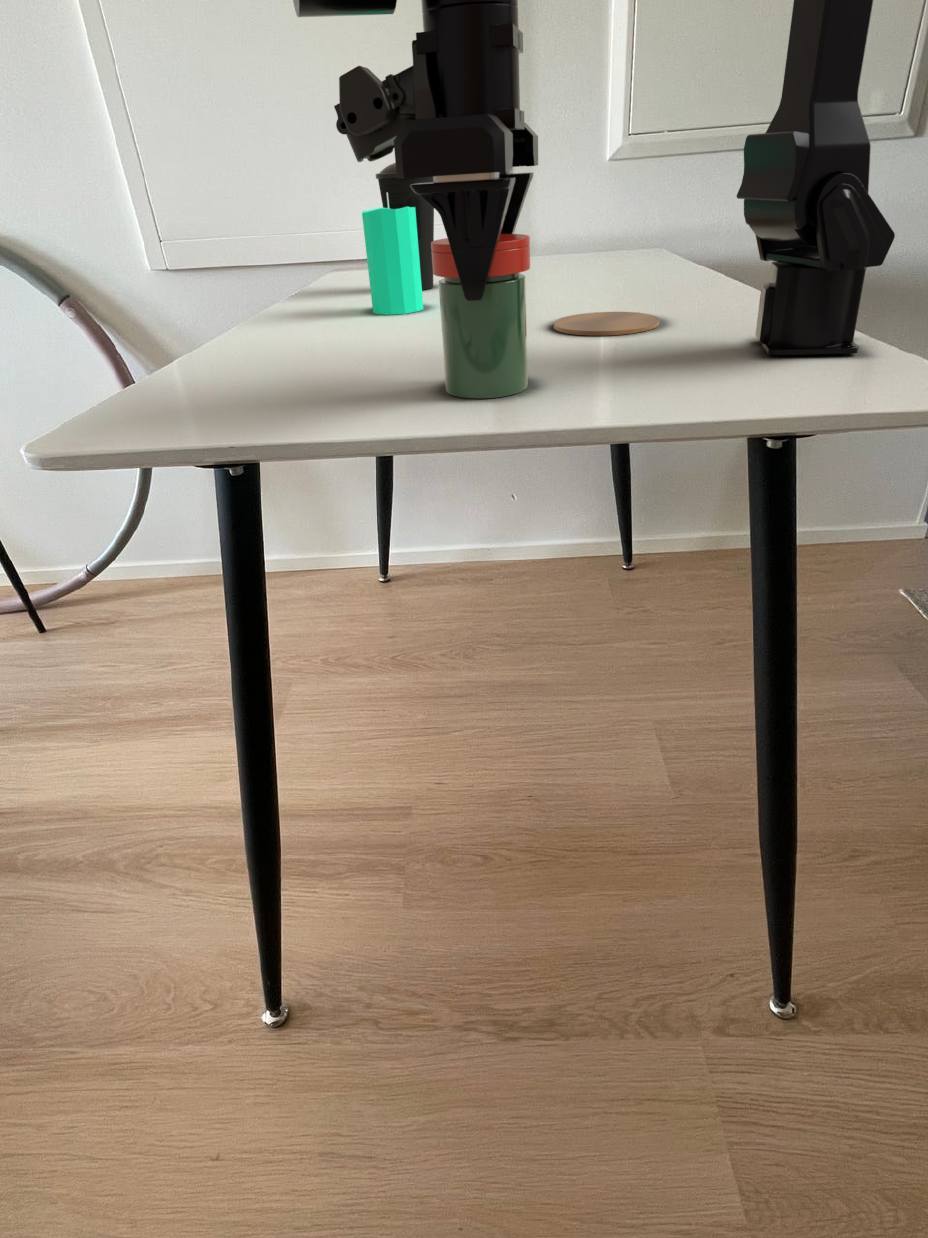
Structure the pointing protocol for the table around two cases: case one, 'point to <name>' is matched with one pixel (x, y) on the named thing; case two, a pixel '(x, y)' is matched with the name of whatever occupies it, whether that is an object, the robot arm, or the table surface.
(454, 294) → the jam jar
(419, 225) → the drinking cup
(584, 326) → the coaster
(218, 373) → the table surface
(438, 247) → the jam lid
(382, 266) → the candle
